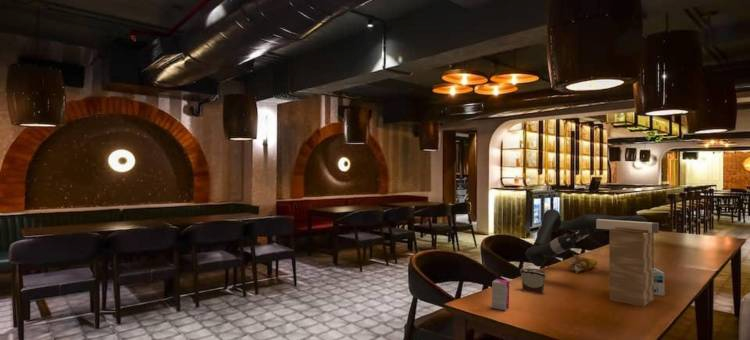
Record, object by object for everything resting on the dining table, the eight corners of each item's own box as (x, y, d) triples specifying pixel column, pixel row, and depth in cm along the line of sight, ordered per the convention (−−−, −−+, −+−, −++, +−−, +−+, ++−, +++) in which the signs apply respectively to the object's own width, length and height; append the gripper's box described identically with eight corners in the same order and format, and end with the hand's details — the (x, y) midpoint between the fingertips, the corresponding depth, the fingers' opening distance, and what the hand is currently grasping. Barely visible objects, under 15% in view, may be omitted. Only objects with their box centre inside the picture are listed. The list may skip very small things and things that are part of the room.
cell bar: (598, 227, 204) (598, 219, 204) (658, 232, 189) (658, 222, 189) (596, 228, 201) (596, 219, 201) (657, 233, 186) (657, 223, 186)
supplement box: (505, 311, 175) (505, 283, 175) (491, 309, 178) (491, 281, 178) (509, 307, 180) (509, 280, 180) (495, 305, 183) (495, 278, 183)
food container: (550, 292, 203) (550, 270, 203) (545, 295, 198) (545, 273, 198) (525, 287, 211) (525, 266, 211) (519, 290, 207) (519, 269, 207)
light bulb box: (665, 296, 196) (665, 272, 196) (648, 295, 198) (648, 271, 198) (654, 289, 207) (654, 267, 207) (639, 289, 208) (639, 266, 208)
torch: (596, 274, 254) (574, 274, 239) (585, 265, 259) (563, 265, 244) (604, 262, 251) (582, 262, 236) (592, 254, 257) (570, 253, 242)
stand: (621, 293, 201) (621, 225, 201) (653, 299, 191) (653, 228, 191) (609, 299, 191) (609, 228, 191) (643, 306, 181) (642, 231, 181)
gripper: (572, 249, 220) (601, 235, 209) (559, 252, 210) (589, 238, 200) (564, 235, 223) (593, 221, 212) (551, 238, 213) (580, 224, 203)
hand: (591, 230), depth 206 cm, fingers open, 8 cm apart
